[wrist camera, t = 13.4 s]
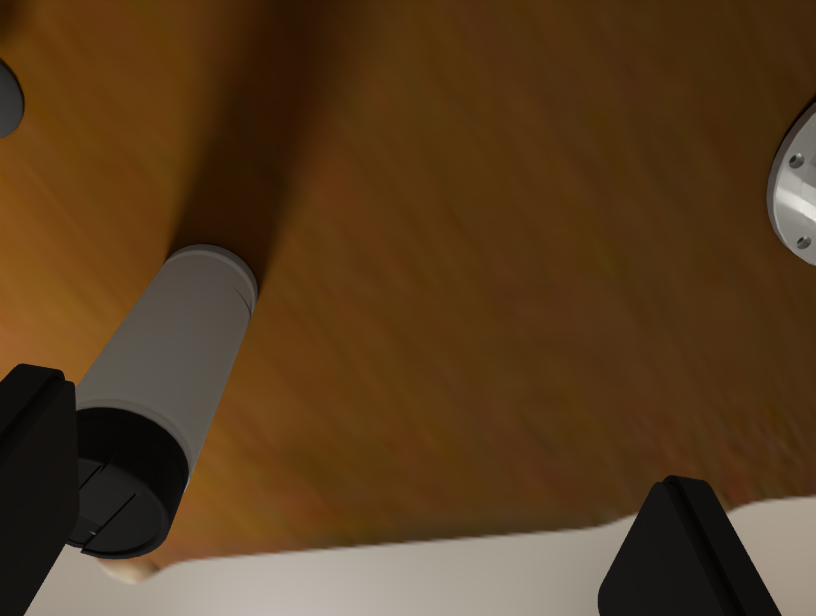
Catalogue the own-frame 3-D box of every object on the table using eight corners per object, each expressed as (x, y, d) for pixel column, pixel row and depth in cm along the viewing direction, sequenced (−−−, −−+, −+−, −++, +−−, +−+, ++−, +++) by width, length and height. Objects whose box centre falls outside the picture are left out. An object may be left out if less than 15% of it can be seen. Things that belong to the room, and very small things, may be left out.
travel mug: (281, 279, 43) (204, 512, 25) (222, 344, 45) (115, 599, 28) (199, 219, 41) (54, 427, 23) (141, 290, 43) (-30, 529, 25)
